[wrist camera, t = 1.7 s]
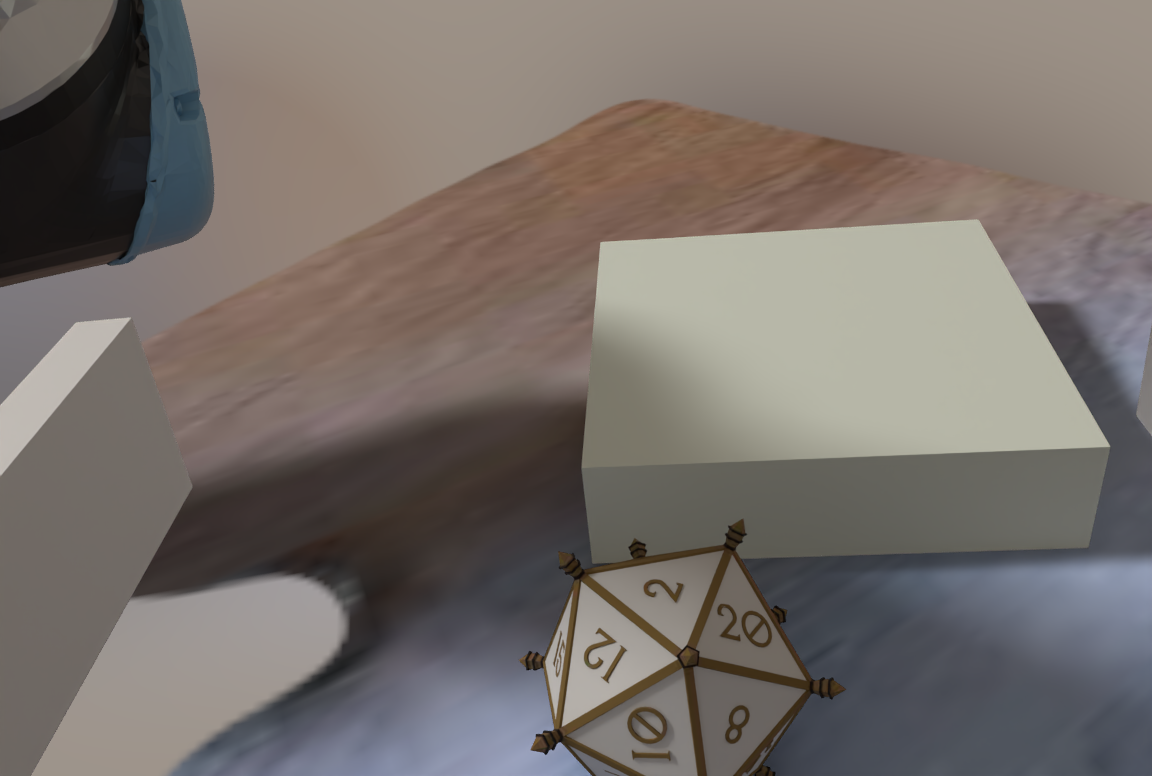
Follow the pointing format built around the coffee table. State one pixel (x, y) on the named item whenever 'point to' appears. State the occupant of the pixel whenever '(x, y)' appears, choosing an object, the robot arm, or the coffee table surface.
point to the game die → (671, 666)
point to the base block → (830, 399)
